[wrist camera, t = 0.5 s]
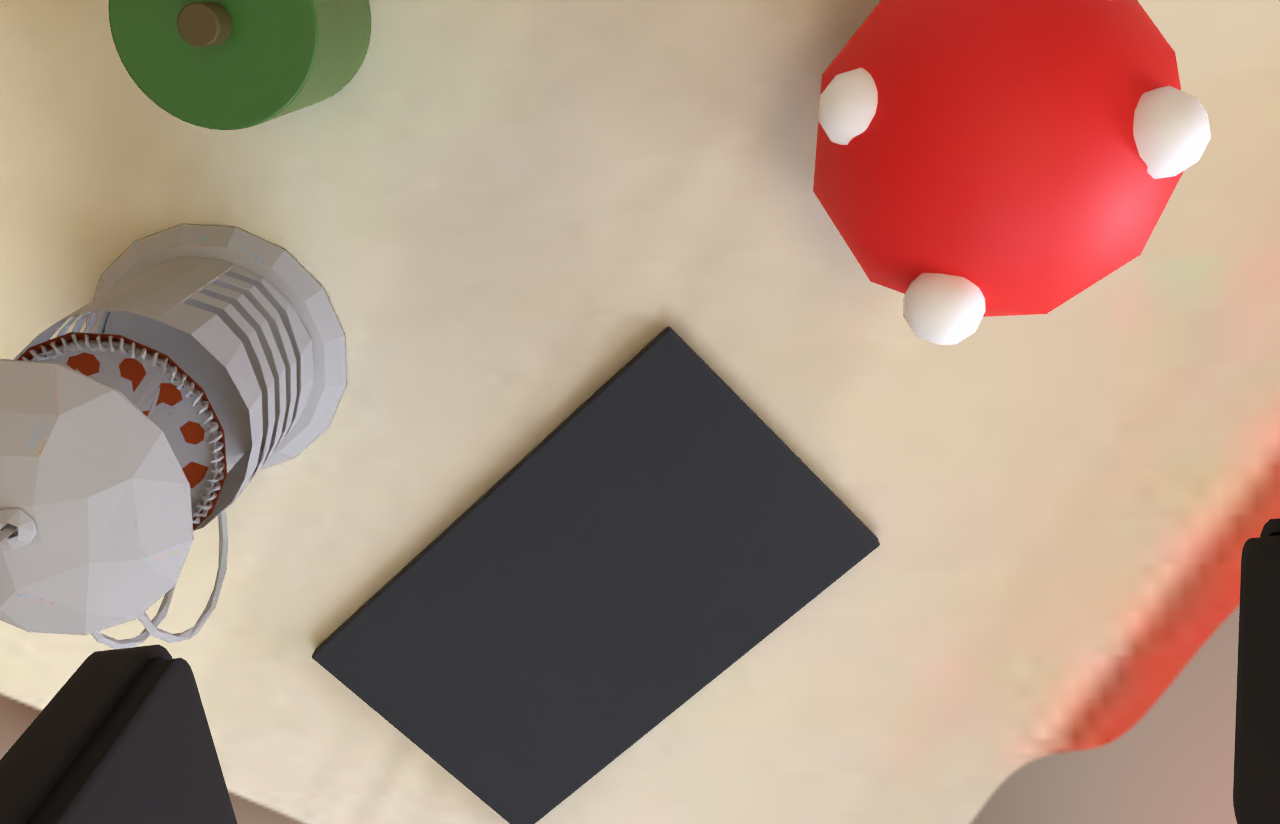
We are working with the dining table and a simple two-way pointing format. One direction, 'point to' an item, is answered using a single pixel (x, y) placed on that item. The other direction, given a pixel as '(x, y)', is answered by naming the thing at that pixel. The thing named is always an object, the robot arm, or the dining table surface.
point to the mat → (597, 585)
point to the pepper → (239, 54)
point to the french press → (155, 424)
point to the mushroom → (1000, 151)
